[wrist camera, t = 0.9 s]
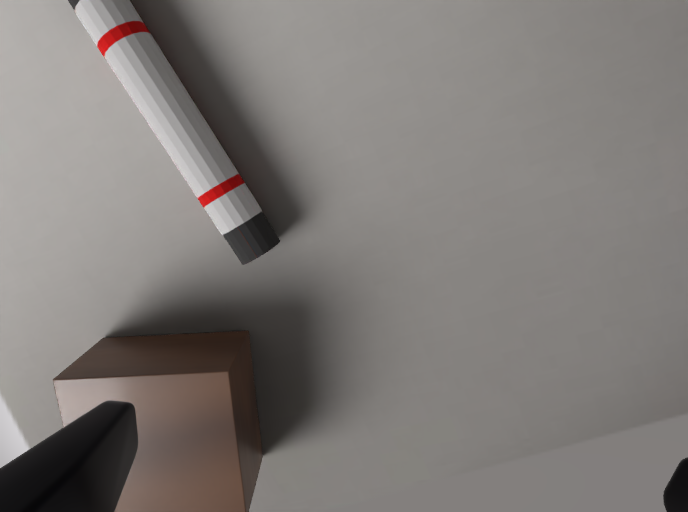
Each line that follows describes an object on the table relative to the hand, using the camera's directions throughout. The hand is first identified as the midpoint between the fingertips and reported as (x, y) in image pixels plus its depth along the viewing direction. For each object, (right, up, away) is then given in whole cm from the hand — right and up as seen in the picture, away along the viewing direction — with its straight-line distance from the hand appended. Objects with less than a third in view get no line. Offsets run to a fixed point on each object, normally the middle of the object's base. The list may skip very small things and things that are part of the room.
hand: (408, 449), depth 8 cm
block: (-9, -4, +15) cm, 18 cm away
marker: (-9, +10, +12) cm, 18 cm away
